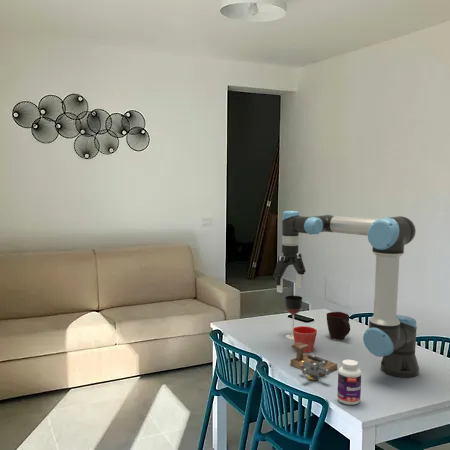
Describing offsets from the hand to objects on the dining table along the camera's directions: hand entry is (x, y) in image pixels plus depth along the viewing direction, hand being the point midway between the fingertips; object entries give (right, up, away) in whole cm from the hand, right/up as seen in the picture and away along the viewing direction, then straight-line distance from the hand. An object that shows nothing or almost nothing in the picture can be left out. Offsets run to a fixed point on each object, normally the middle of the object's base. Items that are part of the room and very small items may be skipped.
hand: (289, 290), depth 235 cm
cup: (+27, -27, +16) cm, 41 cm away
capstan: (+6, -31, -33) cm, 46 cm away
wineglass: (+4, -26, +20) cm, 33 cm away
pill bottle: (+15, -34, -52) cm, 64 cm away
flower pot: (+7, -28, 0) cm, 29 cm away
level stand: (+8, -30, -21) cm, 37 cm away
